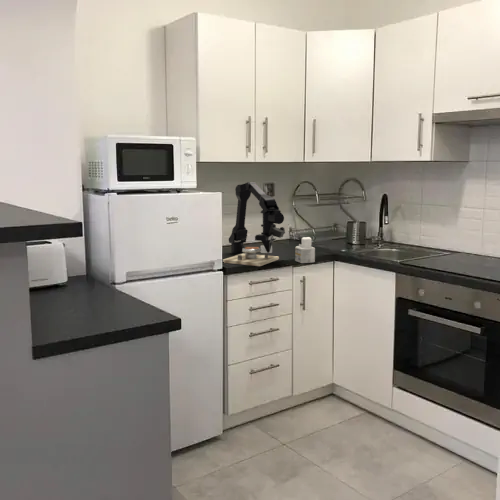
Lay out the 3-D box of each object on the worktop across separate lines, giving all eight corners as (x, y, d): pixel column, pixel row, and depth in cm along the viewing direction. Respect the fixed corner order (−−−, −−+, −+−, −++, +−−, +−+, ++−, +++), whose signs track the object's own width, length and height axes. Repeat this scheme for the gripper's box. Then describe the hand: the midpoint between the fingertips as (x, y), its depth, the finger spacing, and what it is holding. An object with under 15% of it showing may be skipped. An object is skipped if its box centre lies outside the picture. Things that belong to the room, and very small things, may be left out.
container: (295, 260, 291) (295, 236, 289) (308, 259, 294) (308, 235, 291) (301, 263, 284) (301, 238, 282) (315, 262, 286) (315, 237, 284)
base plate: (222, 262, 287) (222, 253, 286) (243, 256, 306) (243, 247, 305) (259, 266, 277) (259, 256, 276) (279, 259, 296) (279, 250, 295)
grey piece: (242, 253, 286) (242, 247, 286) (242, 251, 295) (242, 244, 295) (272, 253, 286) (272, 247, 285) (271, 251, 295) (271, 244, 294)
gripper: (274, 224, 273) (274, 256, 275) (290, 221, 289) (290, 250, 291) (254, 223, 278) (254, 254, 280) (270, 220, 294) (271, 249, 296)
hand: (268, 252), depth 287 cm, fingers closed
